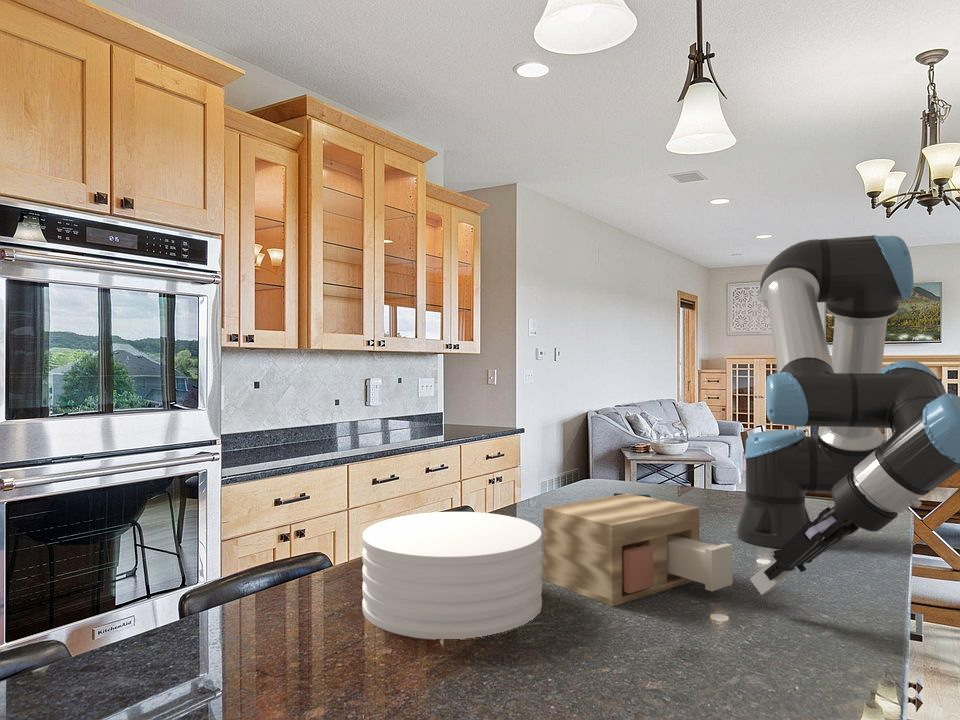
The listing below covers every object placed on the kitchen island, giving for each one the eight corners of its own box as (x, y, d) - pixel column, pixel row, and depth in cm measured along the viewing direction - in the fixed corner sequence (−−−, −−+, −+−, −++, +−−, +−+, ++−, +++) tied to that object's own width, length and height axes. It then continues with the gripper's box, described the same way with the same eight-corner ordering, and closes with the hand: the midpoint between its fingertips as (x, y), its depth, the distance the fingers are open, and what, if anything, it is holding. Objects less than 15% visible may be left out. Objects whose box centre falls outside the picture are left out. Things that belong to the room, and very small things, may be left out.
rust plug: (653, 586, 106) (653, 546, 106) (629, 593, 103) (629, 552, 103) (577, 561, 120) (577, 525, 120) (554, 566, 117) (554, 530, 117)
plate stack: (578, 603, 104) (578, 530, 104) (447, 659, 84) (446, 569, 84) (456, 566, 124) (456, 504, 124) (326, 604, 104) (326, 531, 104)
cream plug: (732, 584, 107) (732, 544, 107) (711, 591, 104) (711, 550, 104) (648, 559, 121) (648, 524, 121) (627, 564, 118) (627, 528, 118)
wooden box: (699, 579, 115) (699, 507, 115) (612, 606, 102) (612, 525, 102) (628, 557, 128) (628, 493, 128) (543, 579, 115) (543, 507, 115)
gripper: (875, 523, 81) (750, 618, 94) (919, 509, 88) (798, 599, 102) (830, 474, 85) (717, 572, 98) (876, 464, 93) (765, 556, 106)
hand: (758, 585), depth 100 cm, fingers closed
